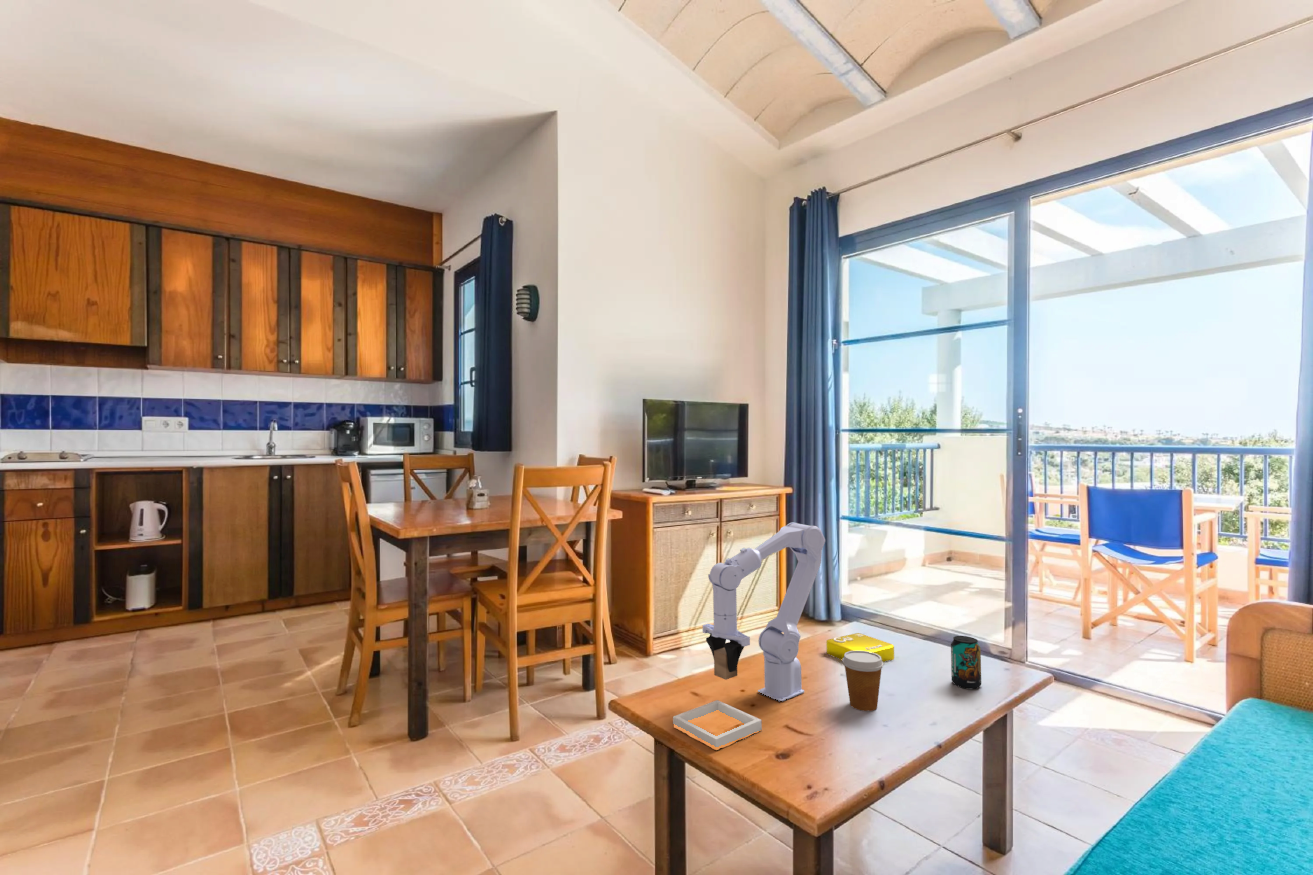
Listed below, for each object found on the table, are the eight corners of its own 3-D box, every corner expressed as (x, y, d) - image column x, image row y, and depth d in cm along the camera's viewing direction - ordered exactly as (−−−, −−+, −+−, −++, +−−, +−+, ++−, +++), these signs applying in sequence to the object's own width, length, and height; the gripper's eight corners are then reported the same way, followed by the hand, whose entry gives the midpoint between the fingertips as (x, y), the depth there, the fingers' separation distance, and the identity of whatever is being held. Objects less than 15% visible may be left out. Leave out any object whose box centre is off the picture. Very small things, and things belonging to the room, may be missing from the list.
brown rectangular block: (725, 671, 152) (725, 647, 152) (737, 675, 149) (737, 651, 149) (714, 674, 150) (713, 650, 150) (725, 679, 147) (725, 654, 147)
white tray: (717, 710, 146) (717, 699, 146) (761, 731, 135) (761, 719, 135) (673, 727, 137) (672, 716, 137) (716, 751, 126) (716, 739, 126)
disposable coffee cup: (857, 716, 142) (857, 664, 142) (835, 700, 151) (834, 651, 151) (892, 711, 144) (891, 660, 145) (868, 695, 154) (867, 648, 154)
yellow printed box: (861, 669, 173) (861, 652, 173) (823, 653, 186) (823, 638, 186) (897, 659, 180) (897, 643, 180) (858, 645, 193) (858, 630, 193)
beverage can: (978, 692, 155) (977, 644, 155) (949, 685, 159) (948, 639, 159) (983, 683, 160) (982, 637, 161) (954, 677, 165) (953, 633, 165)
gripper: (693, 609, 153) (694, 663, 153) (734, 622, 142) (735, 680, 141) (713, 604, 157) (714, 657, 157) (755, 616, 146) (756, 673, 146)
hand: (725, 668), depth 149 cm, fingers closed on brown rectangular block, 4 cm apart
